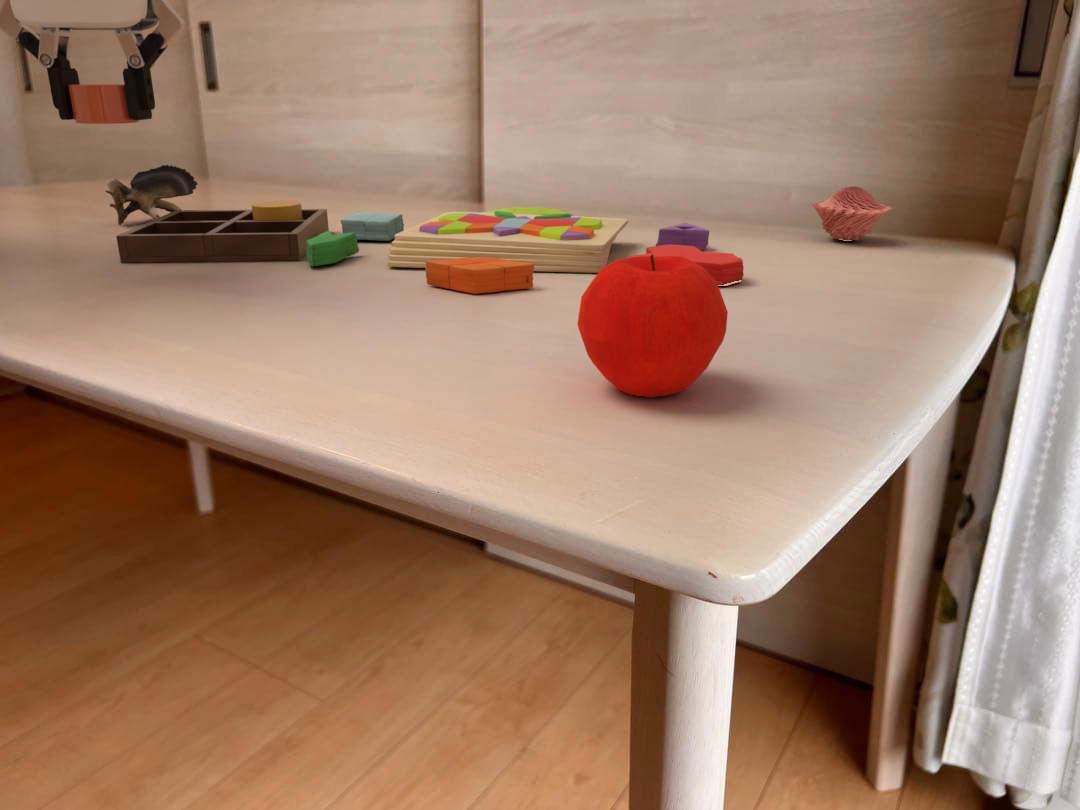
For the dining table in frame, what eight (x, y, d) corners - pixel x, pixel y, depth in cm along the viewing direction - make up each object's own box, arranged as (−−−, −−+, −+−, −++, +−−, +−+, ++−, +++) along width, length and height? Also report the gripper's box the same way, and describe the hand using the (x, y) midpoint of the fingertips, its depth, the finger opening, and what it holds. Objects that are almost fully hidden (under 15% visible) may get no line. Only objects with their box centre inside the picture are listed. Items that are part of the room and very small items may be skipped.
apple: (666, 358, 52) (672, 235, 50) (754, 397, 46) (767, 259, 43) (551, 378, 49) (551, 248, 46) (629, 424, 42) (635, 275, 39)
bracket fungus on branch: (132, 220, 96) (208, 198, 101) (101, 164, 96) (178, 144, 101) (126, 248, 102) (197, 226, 107) (96, 195, 102) (169, 176, 107)
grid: (120, 262, 79) (115, 235, 79) (178, 233, 95) (175, 210, 94) (299, 260, 80) (297, 233, 80) (328, 231, 96) (327, 208, 95)
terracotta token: (63, 123, 70) (56, 84, 69) (90, 120, 75) (84, 84, 74) (125, 123, 70) (119, 84, 69) (149, 121, 75) (143, 84, 74)
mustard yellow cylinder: (249, 236, 89) (246, 207, 88) (261, 228, 93) (258, 200, 92) (298, 235, 89) (295, 206, 88) (307, 228, 94) (305, 200, 93)
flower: (882, 236, 93) (890, 183, 91) (891, 249, 85) (900, 192, 83) (806, 233, 94) (812, 181, 92) (809, 245, 87) (815, 190, 85)
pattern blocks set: (272, 296, 67) (268, 257, 66) (348, 227, 98) (345, 199, 97) (756, 292, 68) (760, 254, 67) (678, 225, 99) (680, 198, 98)
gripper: (-79, -144, 62) (-22, 120, 68) (161, -140, 63) (195, 121, 69) (-20, -122, 69) (26, 117, 75) (195, -118, 70) (223, 118, 76)
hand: (107, 116), depth 72 cm, fingers closed on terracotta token, 5 cm apart
